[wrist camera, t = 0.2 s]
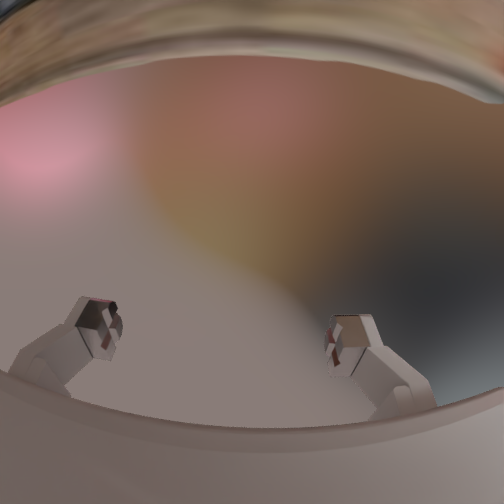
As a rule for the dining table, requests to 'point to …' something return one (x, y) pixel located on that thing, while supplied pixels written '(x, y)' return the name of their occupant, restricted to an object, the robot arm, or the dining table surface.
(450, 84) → the dining table surface
